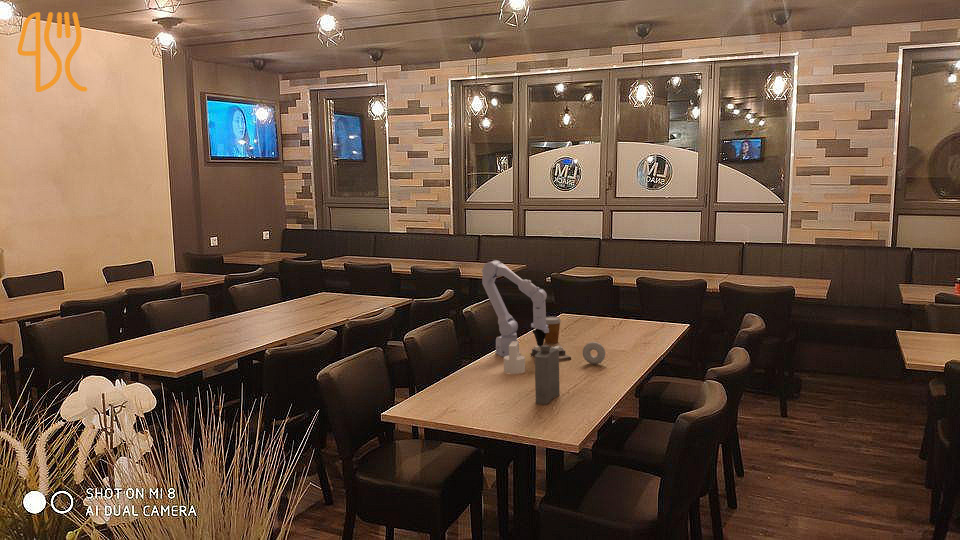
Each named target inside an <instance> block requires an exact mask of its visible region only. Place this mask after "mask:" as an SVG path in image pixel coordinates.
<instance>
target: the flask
mask: <svg viewBox="0 0 960 540" xmlns="http://www.w3.org/2000/svg"><path fill="white" fill-rule="evenodd" d="M540 350H541V351H540V352H538V353H537V354H536V355H535V358H534V377H535V378H534V380H535V381H534V382H535V387H534V388H535V389H534V390H535V391H534V392H535V403H536V404H537V405H539V404H542V405H541V406H545V404H546V405H549V404H550V402H551V401H552V400H553V399H555V398H557V397H559V396H560V394H561V393H560V392H561V391H560V361H559V350H558V349H555V348H551V346H550V345H549V344H543V345H542V346H541V347H540ZM556 396H557V397H556ZM554 397H555V398H554ZM548 403H549V404H548Z"/></svg>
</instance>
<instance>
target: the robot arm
mask: <svg viewBox="0 0 960 540" xmlns="http://www.w3.org/2000/svg"><path fill="white" fill-rule="evenodd" d="M481 272H482V278H481V279H482V280H481V281H482V282H481V284H482V286H483V289H484V290H485V293H486V294H487V298H488V299H489V301H490V303H491V305H492V307H493V310H494V312H495V314H496V316H497V324H498V329H499V331H498V332H499V333H500V334H501V335H500V336H497V337H496V339H495V354H496V355H498V356H499V357H502V358H504V357H505V356H508V355H509V345H510V343H511V342H512V341H518V335H517V331H518V329H519V324H518V322H517V321H516V319H515V318H514V317H513V315H511V314H510V313H509V311H508V308H507V307H506V304H505V302H504V300H503V298H502V296H501V294H500V292H499V290H498V287H497V285H496V283H495V282H496V279H497V277H499V276H500V277H504V278H506V279H508V280H509V281H511V282H512V283H514V284H515V285H517V286H518V290H519V291H521V293H523V294H525V295H526V296H527V297H528V298H530V300H531V301H532V312H533V313H532V314H533V315H532V316H533V317H532V319H533V321H532V322H531V323H530V328H533V329H534V330H532V333H533V335H534V338H535V341H536V346H542V345H544V342H545V336H546V334H547V333H549V328H548V325H546V317H547V312H546V311H547V309H546V308H547V307H546V300H547V297H548V294H547V292H546V291H545V289H543V288H540V287H539V286H536V285H535V284H534V283H532V280H531V279H526V278H525V279H522V277H520V276H518V274H516V273H515V272H513V270H511V269H510V268H509V267H508V266H507V265H506V264H504V263H502V262H501V261H500V260H497V259H493V260H492V261H490V262H486V263H485V264H484V265H483V266H482V269H481ZM519 355H521V353H520V352H519Z"/></svg>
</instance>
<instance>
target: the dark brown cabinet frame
mask: <svg viewBox="0 0 960 540" xmlns="http://www.w3.org/2000/svg"><path fill="white" fill-rule="evenodd" d="M538 352H540V351H536V350H534V348H532V349H531V353H529V354H530V355H531V356H530V357H532V356H533V358H534V359H535V355H536V354H537V353H538ZM570 360H572V357H571V356H570V355H568V354H567V353H566V350H564V349H563V351H559V362H562V361H563V362H565V361H570Z"/></svg>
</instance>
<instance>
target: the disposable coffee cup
mask: <svg viewBox="0 0 960 540" xmlns="http://www.w3.org/2000/svg"><path fill="white" fill-rule="evenodd" d="M561 322H562V319H561V318H560V317H559V316H546V325H548V328H549V333H547V334H546V336H545V338H544V342H546V344H549V343H551V344H552V343H554V344H557V343H559V338H560V337H559V335H560V327H561Z"/></svg>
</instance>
